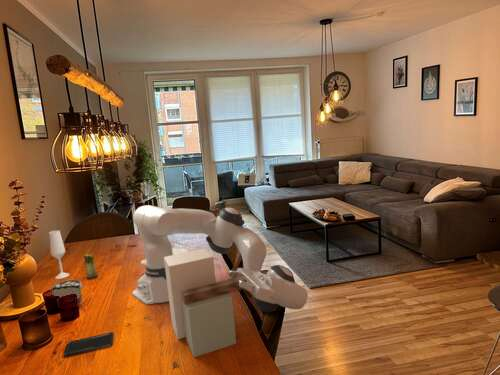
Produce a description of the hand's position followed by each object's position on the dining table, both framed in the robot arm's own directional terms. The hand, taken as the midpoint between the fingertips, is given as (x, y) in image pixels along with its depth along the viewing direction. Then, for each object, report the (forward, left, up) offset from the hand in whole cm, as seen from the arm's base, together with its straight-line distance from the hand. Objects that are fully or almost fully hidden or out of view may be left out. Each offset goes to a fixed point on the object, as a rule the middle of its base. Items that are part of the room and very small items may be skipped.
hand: (234, 277), depth 115 cm
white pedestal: (-16, -4, -20) cm, 26 cm away
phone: (-40, -31, -21) cm, 55 cm away
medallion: (-81, +36, -21) cm, 91 cm away
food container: (-76, -19, -20) cm, 81 cm away
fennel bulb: (-96, +1, -20) cm, 98 cm away
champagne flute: (-113, -6, -20) cm, 115 cm away
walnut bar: (-3, -6, -4) cm, 8 cm away
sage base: (-5, -9, -20) cm, 22 cm away
